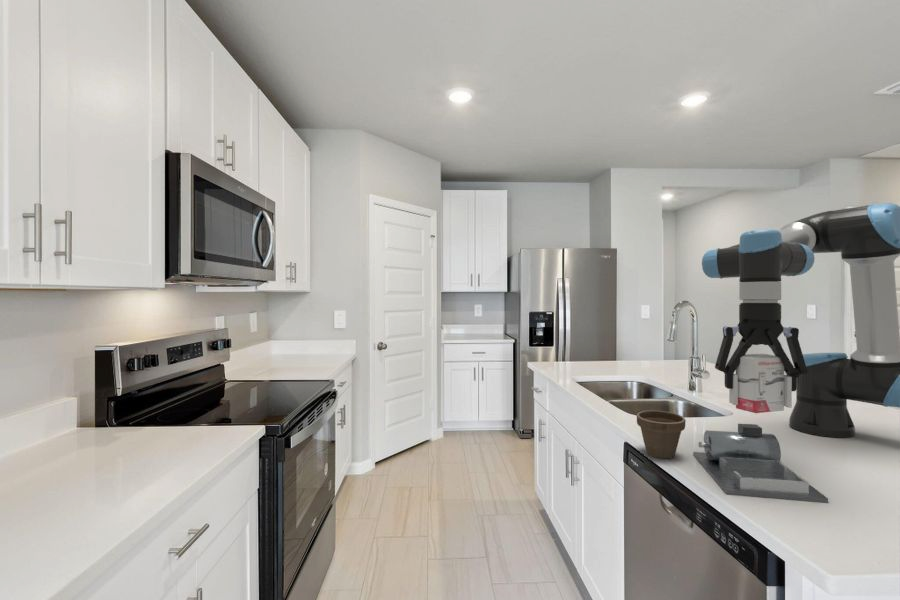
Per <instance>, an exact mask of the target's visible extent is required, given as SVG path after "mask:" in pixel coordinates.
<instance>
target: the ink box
mask: <svg viewBox="0 0 900 600" xmlns="http://www.w3.org/2000/svg"><path fill="white" fill-rule="evenodd" d="M735 374H736V375H738V405H735V409H737V410H741V411H745V412H749V413H753V414H760V413H761V414H764V413H774V412H783V411H784V410H785V406H784V375H785V371H784V365H783V363H782V361H781V359H780V358H779V357H777V356H775V354H773V355H772V354H768V353H750V354H749V353H746V354H745V355H744V356H742V357H741V358H740V364H739V365H738V367H737V368H736V370H735Z"/></svg>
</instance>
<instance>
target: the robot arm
mask: <svg viewBox="0 0 900 600" xmlns="http://www.w3.org/2000/svg"><path fill="white" fill-rule="evenodd" d="M825 253H829V254H831V253H840V255H841V260H842V261H844V262H846V263H847V264H848V265H849V272H850V285H851V286H850V287H851V295H852V296H851V297H852V306H853V309H852V310H853V318H854V319H853V320H854V331H855V343H856V350H855V351H853V352H852V353H851V354H850V356H849V357H850V358H848V355H847V353H845V352H816V353H815V352H814V353H804V354H803V352H802V351H803V350H802V348H801V344H800V341H799V333H800V330H799V328H798V327H792V326H789V327H786V326H785V327H784V326H783V324H782V304H781V303H780V302H779V301H781V300H782V277H783V276H786V277H795V276H801V275H804V274H805V273H807V272H808V271H810V270H811V269H812V268H813V266H814V263H815V259H816V258H815V254H825ZM899 257H900V205H898V204H896V203H892V202H891V203H890V202H889V203H887V202H886V203H876V204H875V203H872V204H868V205H862V206H856V207H855V206H854V207H849V208H848V207H847V208H841V209H835V210H826V211H822V212H819V213H815V214H813V215H809V216H807V217H804V218H800V219H797V220H795V221H792V222H788V223H787V224H785V225H783V226H782V227H781V228H780V229H772V228H771V229H768V228H767V229H757V230H755V229H754V230H748V231H745V232H743V233H741V235H740V236H739V243H738V244H735V245H732V246H729V247H724V248H716V249H710V250H707V251H706V252H705V253H704V254H703V256H702V259H701V268H702V271H703V273H704V275H705V276H706V277H708V278H711V279H729V278H739V281H738V282H739V287H738V288H739V289H738V290H739V295H738V296H739V297H738V298H739V300H740V301H742V302H740V303H739V306H738V313H739V314H738V320H739V322H738V324H737V326H726V325H725V326H723V328H722V333H723V334H722V335H723V338H722V341H721V344H720V348H719V352H718V354H717V358H716V362H715V365H714V368H715V370H718V371H719V372H722V373H723V374H724V387H725V388H726V389H728V390H729V391H728V393H729V394H728V395H729V397H728V399H729V400H728V401H729V402H728V403H730V404H731V405H733V406H736V405H738V375H736V368H737V367H738V365H739V364H740V358H741V357H742V356H744V355H745V354H747V352H748V350H749V349H750V348H752V346H758V345H764V346H768V347H769V348H770V349H771V351H772V353H773V355H774V356H777V357H779V358H780V359H781V361H782V363H783V365H784V408H789V409H790V408H792V412H791V414H790V415H789V420H788V422H789V427H790V428H791V429H793V430H797V431H799V432H802V433H805V434H810V435H816V436H822V437H829V438H850V437H854V436H855V435H856V427H855V424H854V422H853V420H852V417H851V414H850V412H849V409H848V407H847V406H848V405H847V404H848V403H847V402H848V401H855V402H860V403H867V404H873V405H878V406H882V407H891V408H900V323H899V311H898V298H897V285H896V272H895V271H896V270H895V260H896V259H898V258H899ZM737 333H739V334H740V336H741V338H740V341H739V342H738V345H737V347H736V349H735V350H734V351H733V354H732V355H731V356H730V359H729V355H730V352H731V349H732V345H733V343H734V337H735V336H736V335H737ZM781 334H783V335H784V337H785V339H786V340H785V341H786V343H787V346H788V349H789V350H788V351H789V354H790V357H791V360H792V361H791V360H790V358H789V357H788V355H787V354H786V352H785V350H784V349H783V346H782V343H781V342H780V340H779V339H778V338H779V337H780V336H781ZM728 359H729V360H728ZM792 392H795V395H796V400H795V404H794V406H793V407H792V404H793V402H792V399H793V398H792V397H793V396H792V395H793V393H792ZM847 400H848V401H847Z"/></svg>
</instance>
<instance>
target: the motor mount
mask: <svg viewBox="0 0 900 600" xmlns="http://www.w3.org/2000/svg"><path fill="white" fill-rule="evenodd" d="M697 445H698V447H699V448H704V452H703V451H701V452H699V451H693V453H692V454H693V455H692V456H694V458H695V459H696V460H697V461H698V463H699V464H700V465H701V466H702V468H704V470H705V471H706V472H707V473H708V474H709V476H710V477H711V478H712V480H714V481H715V483H716V484H717V485H718V486H719V487H720V489H721V490H722V491H723V492H724V494H725V495H730V496H731V495H732V496H733V495H735V496H743V497H745V496H746V497H754V498H755V497H756V498H757V497H758V498H768V499H778V500H791V501H803V502H804V501H805V502H813V503H815V502H816V503H829V498H828V497H826V495H824V494H822V492H820V491H819V490H818V489H816V488H815V487H813V486H812V485H811V484H809V483H810V482H808V481H807V480H806V479H804V478H803V477H801V476H800V475H798V474H797V473H795V472H794V471H792V470H791V469H789V467H788V466H787V465H785V464H784V463H783V462H781V456H782V451H781V446H780V443H779V440H778V438H777V436H776V435H775V434H774V433H763V428H762V427H761V426H759V424H755V423H754V424H753V423H752V424H751V423H737V431H726V430H725V431H723V430H705V432H704V434H703V441H699V442H698V444H697Z"/></svg>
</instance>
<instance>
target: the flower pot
mask: <svg viewBox="0 0 900 600" xmlns="http://www.w3.org/2000/svg"><path fill="white" fill-rule="evenodd" d="M686 423H687V421H686V418H685V417H684V416H682V415H680V414H677V413H674V412H670V411H665V410H664V411H663V410H642V411H639V412H637V413H636V424H637V426H638V427H639V428H640V429H641V430H640V431H641V436H642V439H643V443H644V447H645V451H646V453H647V455H648V456H651V457H653V458H658V459H662V460H663V459H665V460H666V459H667V460H668V459H672V458H674V457H675V455H676V452H677V449H678V445H679V443H680V442H679V441H680V437H681V434H682V431H684V430H685V429H686Z"/></svg>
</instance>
